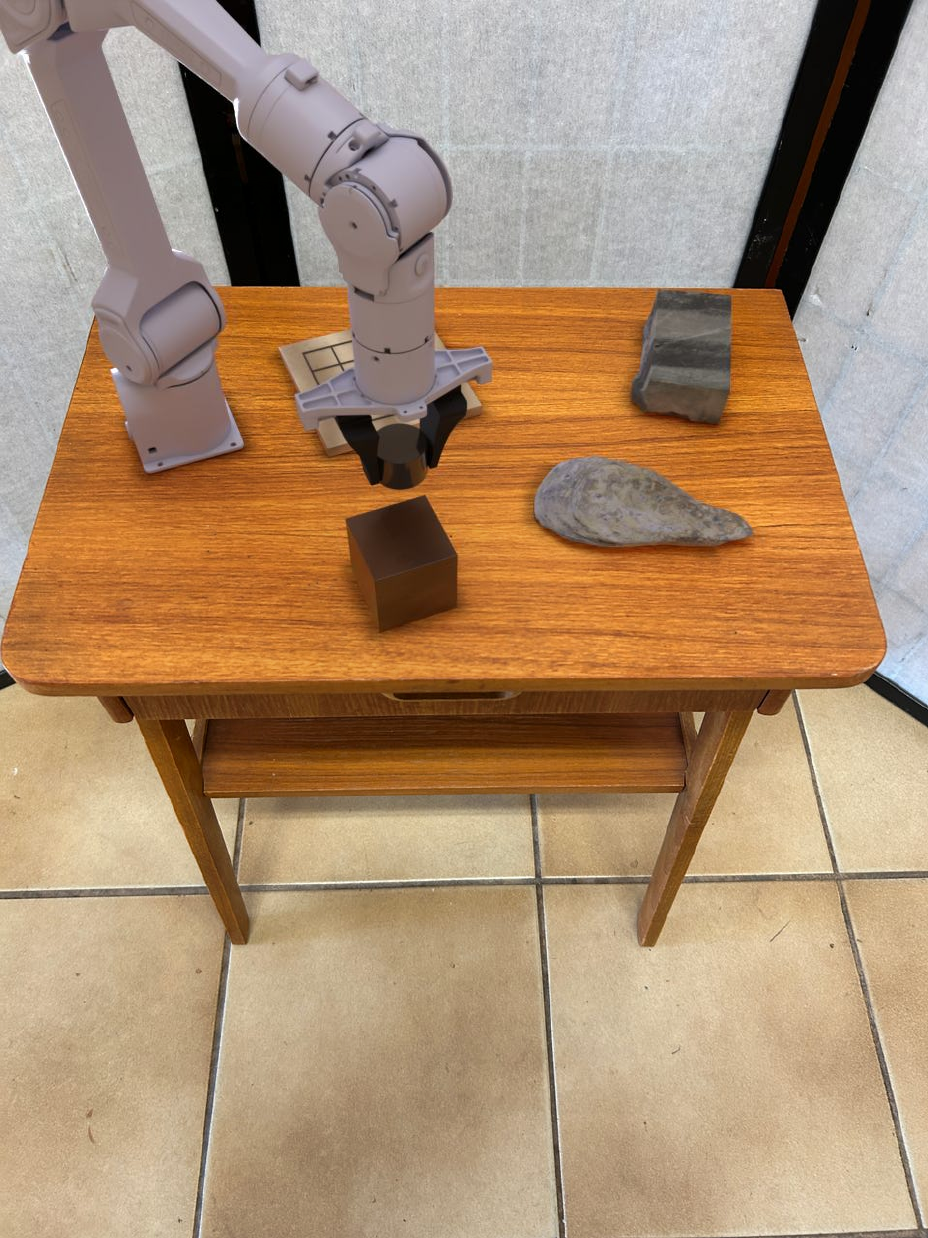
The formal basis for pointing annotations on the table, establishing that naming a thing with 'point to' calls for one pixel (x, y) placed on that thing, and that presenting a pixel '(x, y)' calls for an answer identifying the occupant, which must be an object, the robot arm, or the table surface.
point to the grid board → (329, 359)
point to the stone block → (686, 356)
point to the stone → (628, 507)
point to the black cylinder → (402, 456)
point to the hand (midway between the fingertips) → (399, 468)
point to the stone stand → (403, 562)
